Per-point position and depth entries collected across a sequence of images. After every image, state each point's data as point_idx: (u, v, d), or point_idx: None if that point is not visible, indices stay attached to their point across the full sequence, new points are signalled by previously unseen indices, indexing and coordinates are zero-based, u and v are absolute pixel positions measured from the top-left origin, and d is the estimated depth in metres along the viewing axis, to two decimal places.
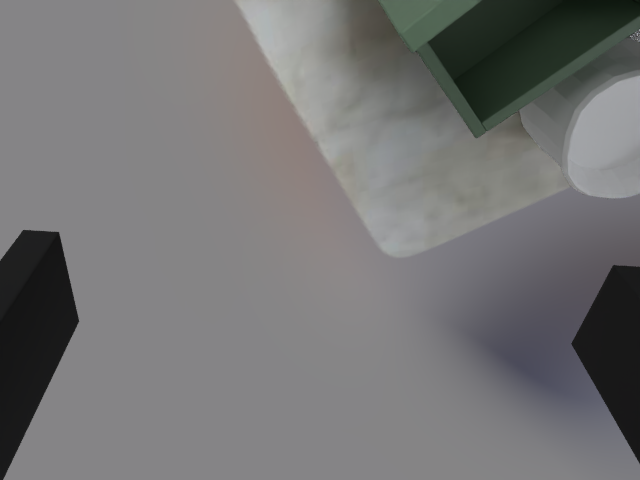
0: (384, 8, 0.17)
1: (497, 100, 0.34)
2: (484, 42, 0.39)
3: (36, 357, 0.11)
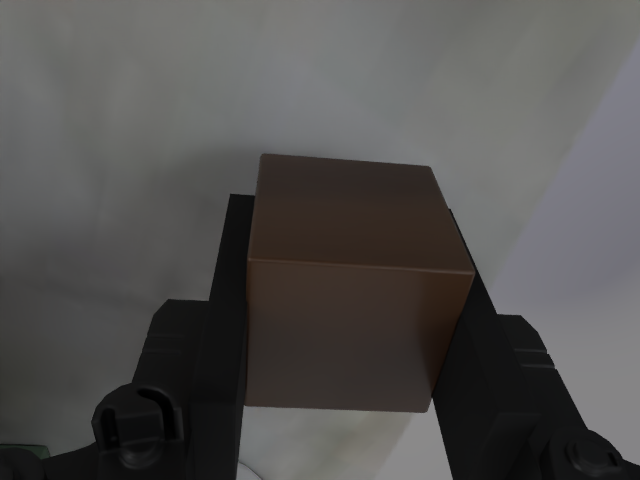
0: None
1: None
2: None
3: None
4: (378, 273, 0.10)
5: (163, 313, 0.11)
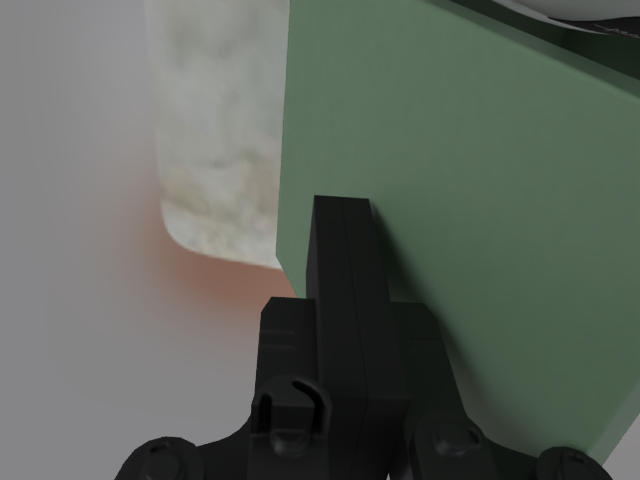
0: None
1: None
2: None
3: None
4: None
5: (269, 310, 0.11)
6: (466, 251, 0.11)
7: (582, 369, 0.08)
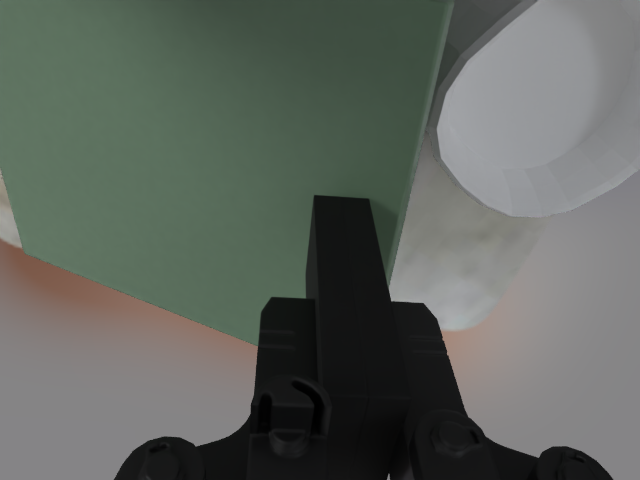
0: None
1: None
2: None
3: None
4: None
5: (269, 310, 0.11)
6: (274, 133, 0.14)
7: (384, 164, 0.14)
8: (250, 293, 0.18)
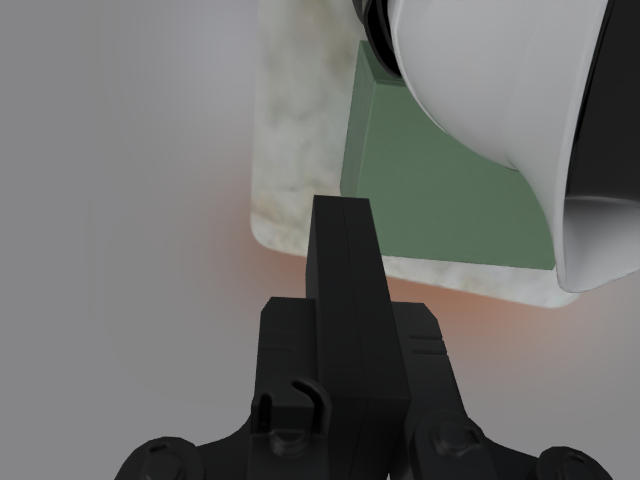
0: None
1: None
2: None
3: None
4: None
5: (270, 310, 0.11)
6: None
7: None
8: (503, 238, 0.38)
